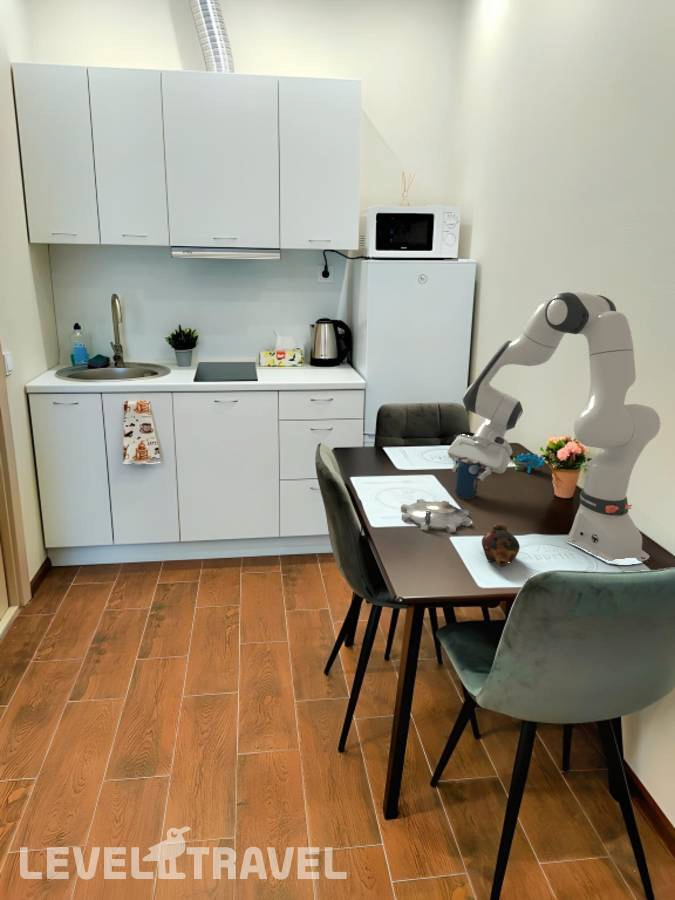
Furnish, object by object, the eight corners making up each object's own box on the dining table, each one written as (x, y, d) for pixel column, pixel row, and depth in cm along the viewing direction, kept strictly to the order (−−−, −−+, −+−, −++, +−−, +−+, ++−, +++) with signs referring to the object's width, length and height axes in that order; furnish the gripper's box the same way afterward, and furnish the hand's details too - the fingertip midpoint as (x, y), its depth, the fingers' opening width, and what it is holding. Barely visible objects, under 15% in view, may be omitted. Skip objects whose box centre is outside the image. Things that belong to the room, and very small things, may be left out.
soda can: (478, 500, 216) (482, 464, 212) (456, 498, 216) (460, 463, 212) (473, 492, 222) (478, 457, 219) (452, 490, 222) (456, 456, 218)
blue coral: (546, 465, 248) (543, 452, 240) (544, 480, 245) (541, 466, 237) (515, 463, 252) (511, 450, 244) (513, 478, 250) (509, 465, 242)
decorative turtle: (510, 547, 184) (516, 521, 181) (521, 577, 170) (528, 549, 167) (474, 542, 184) (480, 516, 181) (483, 573, 170) (489, 545, 167)
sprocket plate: (484, 529, 195) (486, 514, 193) (418, 535, 188) (420, 520, 186) (449, 501, 213) (451, 487, 212) (388, 506, 206) (389, 492, 205)
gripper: (456, 427, 225) (436, 461, 221) (512, 442, 212) (491, 479, 208) (462, 438, 229) (442, 471, 225) (517, 453, 216) (497, 489, 212)
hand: (466, 475), depth 216 cm, fingers open, 8 cm apart
